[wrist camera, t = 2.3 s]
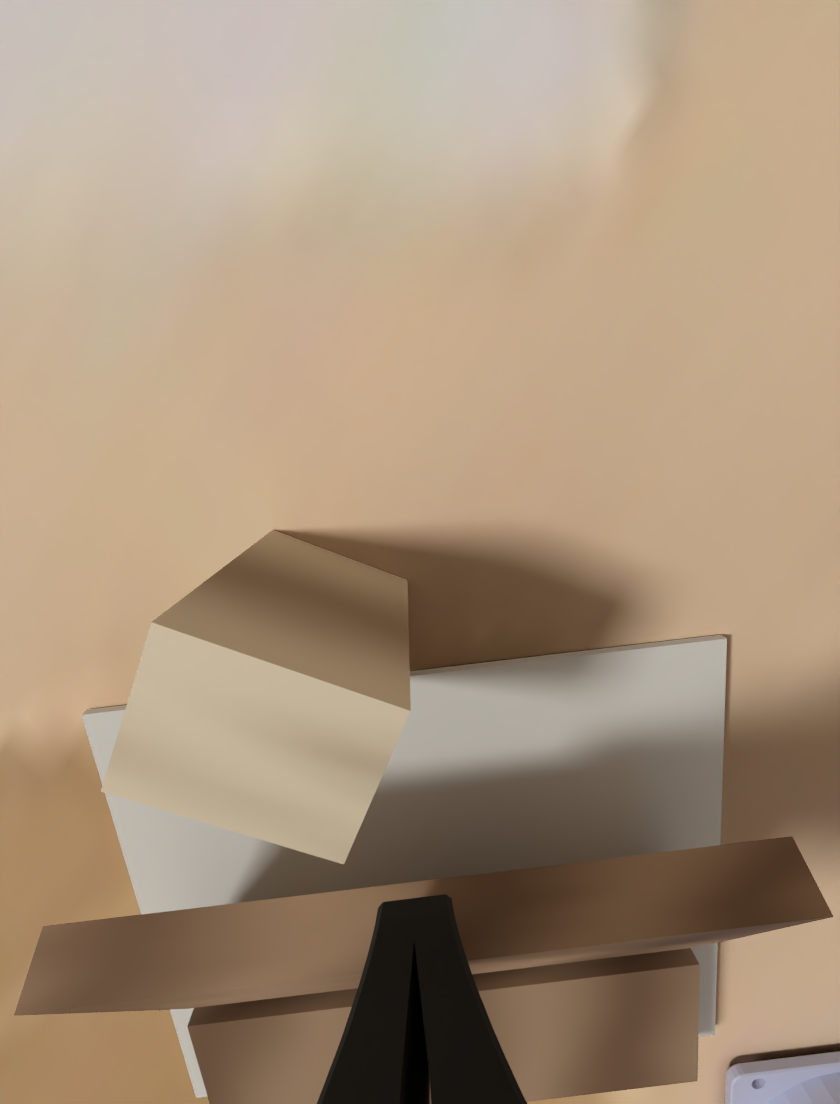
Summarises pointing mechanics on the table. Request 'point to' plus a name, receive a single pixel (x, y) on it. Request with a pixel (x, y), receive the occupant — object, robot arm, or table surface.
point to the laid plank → (515, 1014)
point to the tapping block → (271, 698)
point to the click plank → (478, 900)
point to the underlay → (482, 787)
